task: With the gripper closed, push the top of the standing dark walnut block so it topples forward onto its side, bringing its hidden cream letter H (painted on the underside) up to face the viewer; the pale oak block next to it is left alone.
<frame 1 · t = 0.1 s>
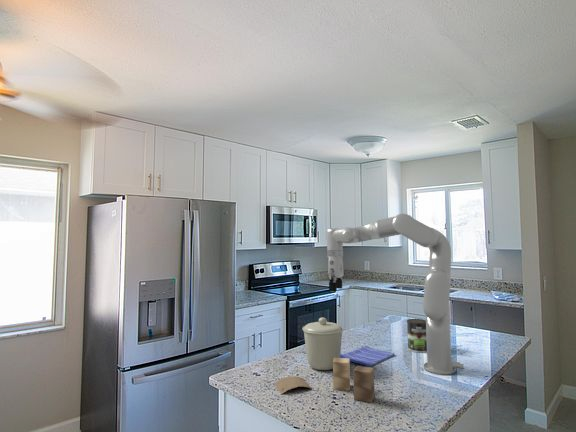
hand: (335, 289, 174), 31 cm above the worktop, tool pointing down, fingers open, 9 cm apart
clay tablet: (293, 388, 137), on the worktop
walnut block: (364, 398, 126), on the worktop
dish towel: (365, 359, 169), on the worktop
oak block: (341, 387, 136), on the worktop
coffee can: (418, 350, 180), on the worktop
canister: (323, 366, 158), on the worktop
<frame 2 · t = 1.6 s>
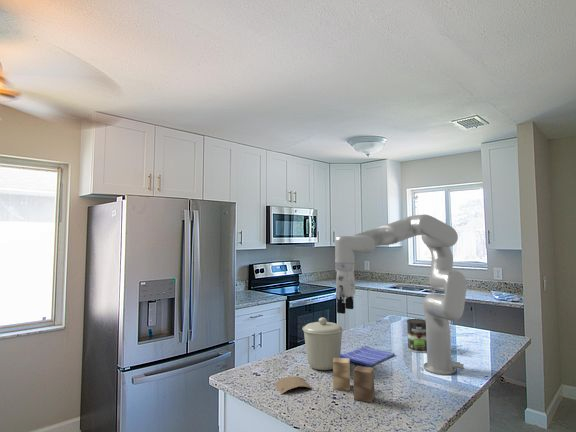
hand: (345, 310, 142), 27 cm above the worktop, tool pointing down, fingers open, 9 cm apart
nothing on the worktop moved.
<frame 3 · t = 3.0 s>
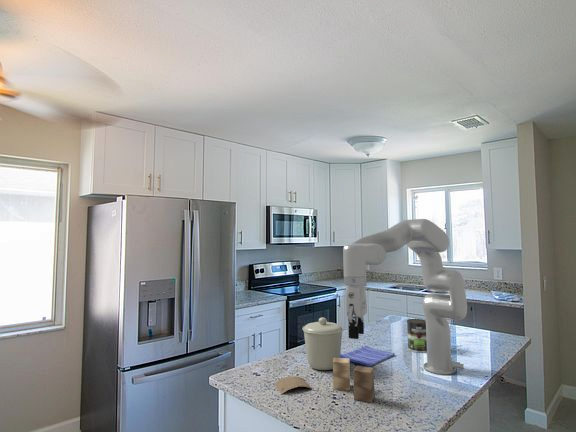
hand: (356, 335, 120), 24 cm above the worktop, tool pointing down, fingers open, 5 cm apart
nothing on the worktop moved.
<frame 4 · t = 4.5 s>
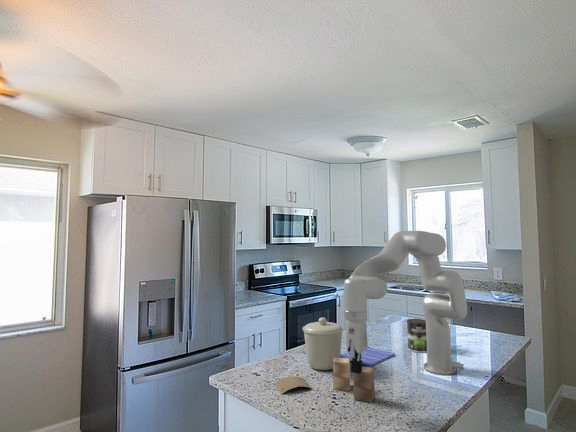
hand: (356, 372, 119), 12 cm above the worktop, tool pointing down, fingers closed
nothing on the worktop moved.
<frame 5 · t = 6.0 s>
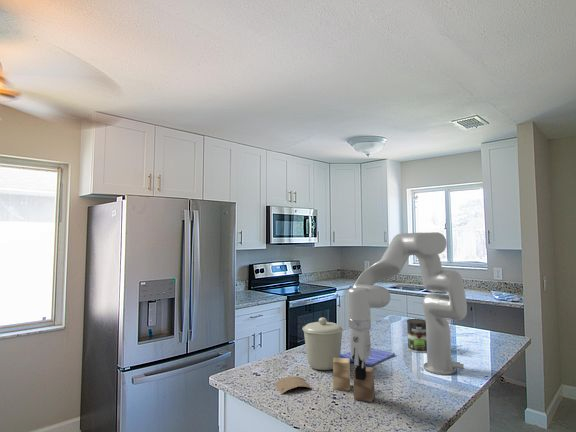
hand: (360, 378, 123), 8 cm above the worktop, tool pointing down, fingers closed
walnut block: (364, 398, 126), on the worktop, touching gripper
everything else where it was.
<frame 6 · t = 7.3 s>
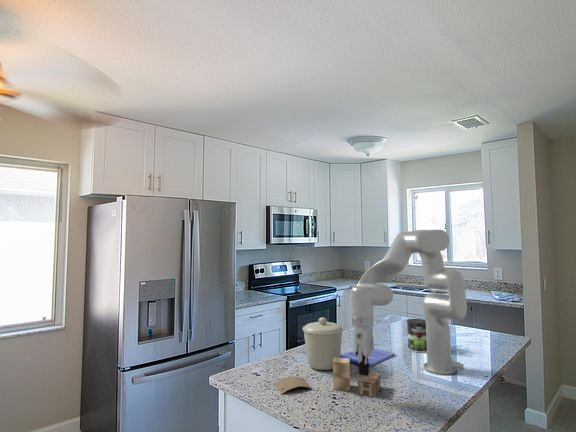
hand: (364, 374, 127), 8 cm above the worktop, tool pointing down, fingers closed
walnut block: (366, 389, 128), point 2 cm above the worktop, tilted 90°
everything else where it was.
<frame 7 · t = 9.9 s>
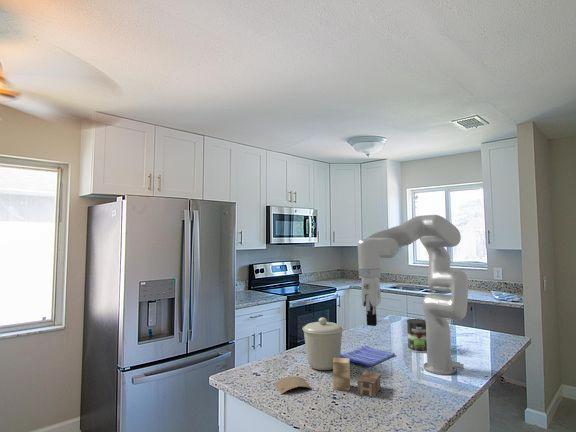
hand: (371, 325, 129), 25 cm above the worktop, tool pointing down, fingers closed
nothing on the worktop moved.
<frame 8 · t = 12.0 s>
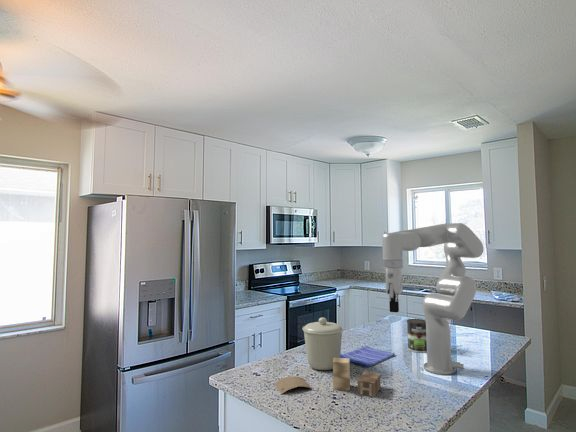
hand: (394, 311, 140), 27 cm above the worktop, tool pointing down, fingers closed
nothing on the worktop moved.
at the end: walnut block tilted 90°; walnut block inside the target area (0.9 cm from its centre), point 2.3 cm above the worktop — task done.
